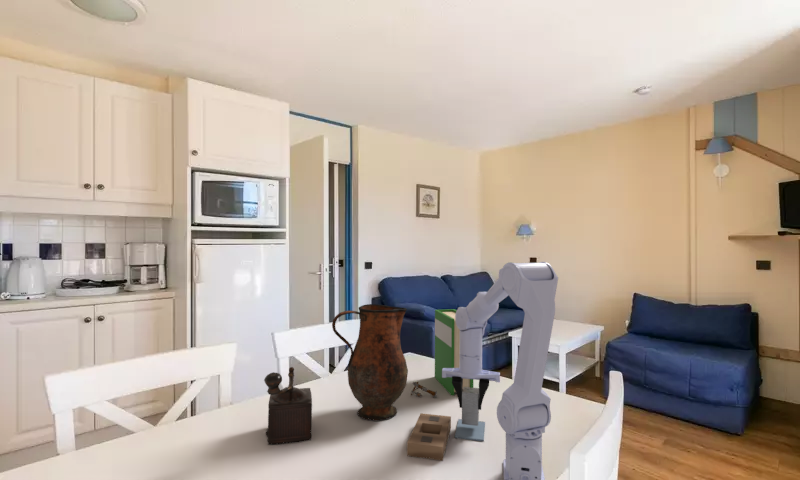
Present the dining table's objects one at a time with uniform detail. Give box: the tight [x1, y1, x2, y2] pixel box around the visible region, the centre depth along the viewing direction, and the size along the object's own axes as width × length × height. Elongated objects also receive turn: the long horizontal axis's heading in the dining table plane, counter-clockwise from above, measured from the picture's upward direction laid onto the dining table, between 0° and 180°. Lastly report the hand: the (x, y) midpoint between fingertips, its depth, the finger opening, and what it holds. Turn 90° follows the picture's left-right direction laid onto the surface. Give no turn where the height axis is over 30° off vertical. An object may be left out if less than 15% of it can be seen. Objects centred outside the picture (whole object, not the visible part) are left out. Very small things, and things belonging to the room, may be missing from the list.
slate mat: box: [454, 418, 486, 442], centre depth 103 cm, size 10×7×1 cm
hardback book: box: [434, 308, 474, 396], centre depth 136 cm, size 18×7×24 cm, turn 12°
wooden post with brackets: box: [410, 381, 438, 399], centre depth 125 cm, size 2×8×4 cm, turn 84°
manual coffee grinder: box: [263, 366, 313, 445], centre depth 99 cm, size 16×11×18 cm
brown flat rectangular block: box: [406, 412, 452, 462], centre depth 97 cm, size 16×8×3 cm, turn 166°
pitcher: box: [331, 303, 409, 422], centre depth 112 cm, size 17×21×30 cm
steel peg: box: [461, 387, 480, 426], centre depth 103 cm, size 4×4×8 cm
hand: (470, 407), depth 103 cm, fingers closed on steel peg, 4 cm apart
